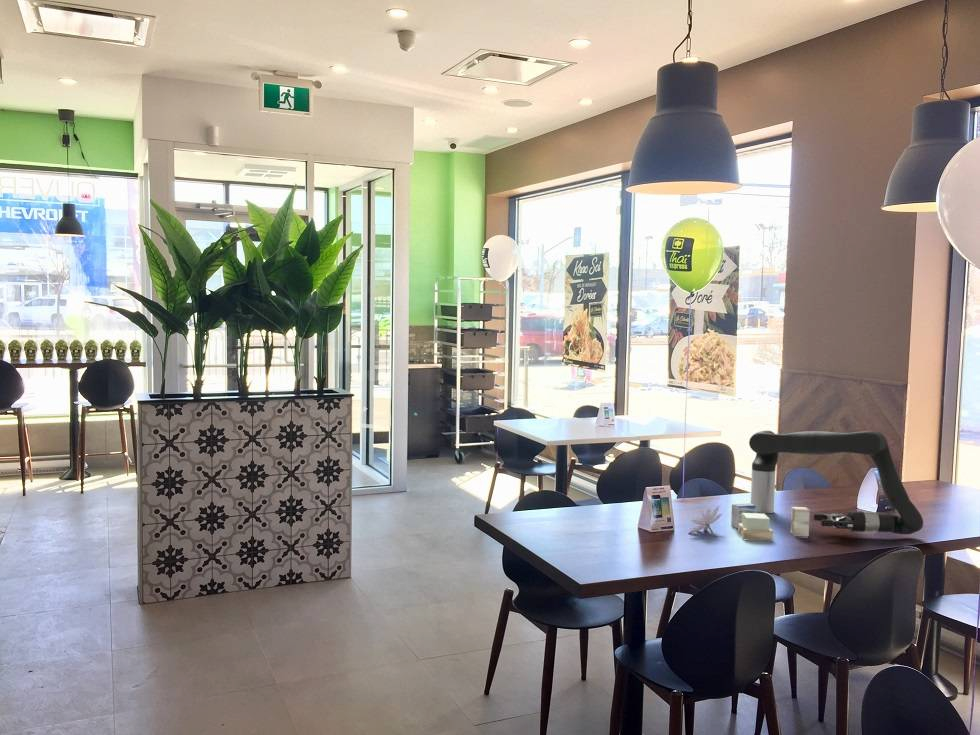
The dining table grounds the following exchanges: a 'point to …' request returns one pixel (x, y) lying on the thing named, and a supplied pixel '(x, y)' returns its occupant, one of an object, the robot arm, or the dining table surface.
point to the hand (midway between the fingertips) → (817, 519)
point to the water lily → (705, 520)
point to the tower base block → (755, 533)
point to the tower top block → (755, 521)
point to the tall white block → (800, 521)
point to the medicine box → (740, 512)
